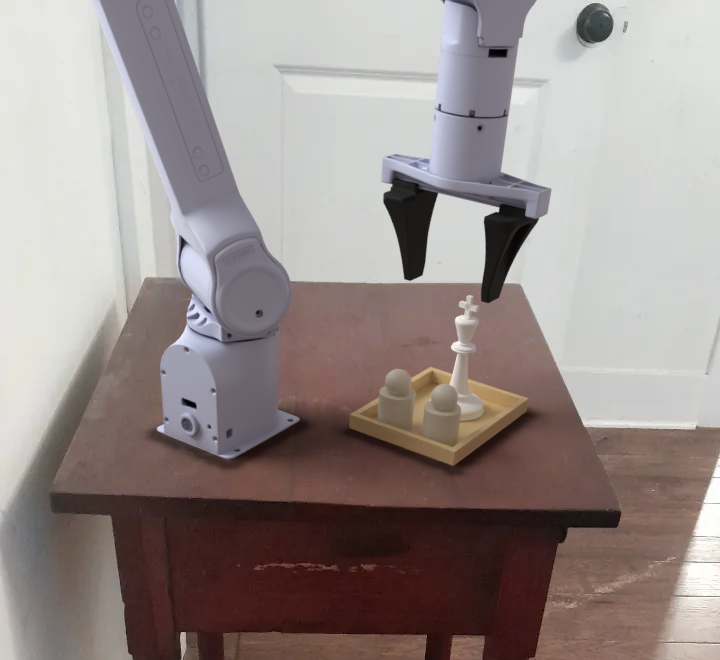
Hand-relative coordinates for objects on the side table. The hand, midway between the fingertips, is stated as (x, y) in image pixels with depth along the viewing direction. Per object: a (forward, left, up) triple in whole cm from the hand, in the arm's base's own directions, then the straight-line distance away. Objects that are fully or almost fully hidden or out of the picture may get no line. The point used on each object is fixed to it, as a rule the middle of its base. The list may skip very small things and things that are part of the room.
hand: (450, 288), depth 84 cm
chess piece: (-2, -3, -10) cm, 10 cm away
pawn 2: (-9, -5, -9) cm, 14 cm away
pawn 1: (-9, -1, -9) cm, 13 cm away
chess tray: (-5, -3, -10) cm, 11 cm away
